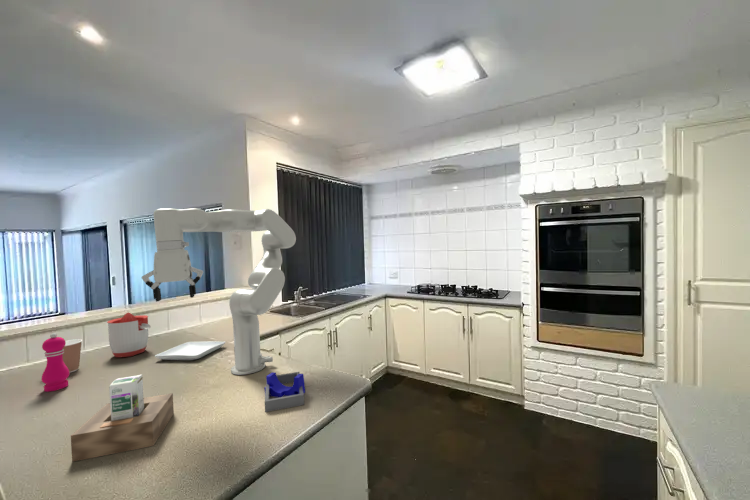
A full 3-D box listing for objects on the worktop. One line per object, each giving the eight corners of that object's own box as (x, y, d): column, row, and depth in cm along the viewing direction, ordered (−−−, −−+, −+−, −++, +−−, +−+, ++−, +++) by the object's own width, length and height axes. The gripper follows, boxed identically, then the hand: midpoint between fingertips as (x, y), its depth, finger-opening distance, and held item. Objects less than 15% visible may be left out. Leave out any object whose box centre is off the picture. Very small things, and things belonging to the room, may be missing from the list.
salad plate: (188, 347, 160) (187, 340, 160) (227, 347, 157) (226, 340, 157) (153, 363, 139) (152, 355, 139) (197, 363, 136) (196, 355, 136)
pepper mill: (38, 394, 111) (34, 337, 111) (47, 386, 117) (44, 332, 117) (65, 389, 114) (62, 333, 114) (73, 382, 121) (70, 329, 120)
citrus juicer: (137, 358, 145) (135, 315, 145) (99, 360, 145) (97, 316, 145) (160, 347, 161) (158, 308, 161) (127, 349, 161) (124, 309, 161)
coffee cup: (44, 374, 130) (42, 345, 130) (75, 365, 139) (74, 338, 139) (58, 377, 126) (56, 347, 126) (89, 368, 136) (87, 340, 135)
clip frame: (299, 380, 112) (299, 371, 112) (304, 404, 94) (303, 394, 94) (267, 385, 109) (266, 376, 109) (265, 412, 91) (264, 401, 91)
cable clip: (265, 396, 102) (263, 378, 101) (273, 390, 106) (272, 372, 106) (297, 399, 98) (295, 380, 98) (305, 392, 102) (303, 373, 102)
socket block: (173, 413, 93) (172, 392, 93) (153, 445, 77) (152, 420, 77) (107, 425, 88) (106, 402, 88) (72, 461, 73) (70, 434, 73)
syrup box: (111, 443, 79) (108, 385, 79) (120, 431, 84) (117, 377, 84) (138, 437, 81) (135, 381, 81) (145, 426, 87) (142, 373, 86)
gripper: (202, 244, 110) (207, 293, 111) (143, 248, 104) (148, 300, 105) (198, 244, 103) (203, 297, 103) (134, 249, 97) (140, 304, 98)
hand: (175, 298), depth 104 cm, fingers open, 9 cm apart
